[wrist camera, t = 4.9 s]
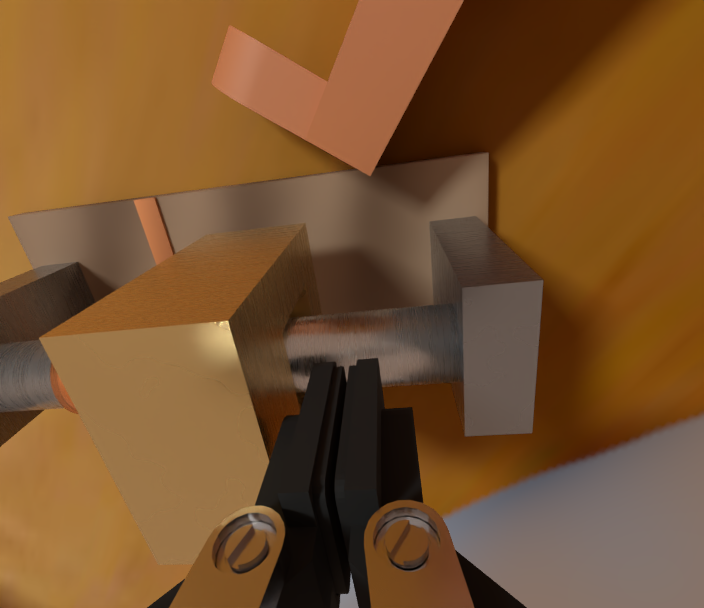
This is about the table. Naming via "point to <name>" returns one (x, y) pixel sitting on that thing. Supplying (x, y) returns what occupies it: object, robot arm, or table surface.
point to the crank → (342, 78)
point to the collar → (191, 378)
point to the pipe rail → (339, 334)
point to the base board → (277, 210)
